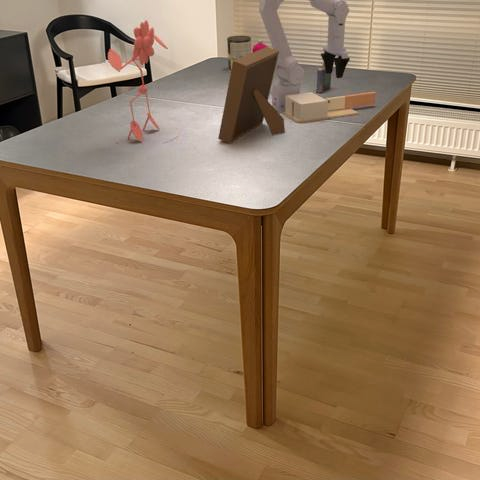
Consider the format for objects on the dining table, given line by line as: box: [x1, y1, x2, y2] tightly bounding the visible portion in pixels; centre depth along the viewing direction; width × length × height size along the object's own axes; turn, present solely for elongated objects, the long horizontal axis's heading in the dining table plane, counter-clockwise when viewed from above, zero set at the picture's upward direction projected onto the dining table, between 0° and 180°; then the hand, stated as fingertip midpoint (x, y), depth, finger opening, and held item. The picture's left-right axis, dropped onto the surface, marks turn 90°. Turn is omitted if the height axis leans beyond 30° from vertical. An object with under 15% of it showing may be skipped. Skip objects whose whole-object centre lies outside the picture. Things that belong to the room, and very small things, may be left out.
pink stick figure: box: [107, 19, 179, 145], centre depth 186 cm, size 15×26×35 cm, turn 156°
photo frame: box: [218, 46, 286, 144], centre depth 188 cm, size 15×22×25 cm
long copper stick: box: [324, 91, 377, 111], centre depth 214 cm, size 20×1×4 cm, turn 111°
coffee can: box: [226, 35, 252, 73], centre depth 268 cm, size 10×10×14 cm
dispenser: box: [282, 91, 359, 124], centre depth 211 cm, size 23×12×6 cm, turn 111°
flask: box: [316, 61, 332, 94], centre depth 237 cm, size 9×3×11 cm, turn 146°
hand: (334, 75), depth 221 cm, fingers open, 7 cm apart
